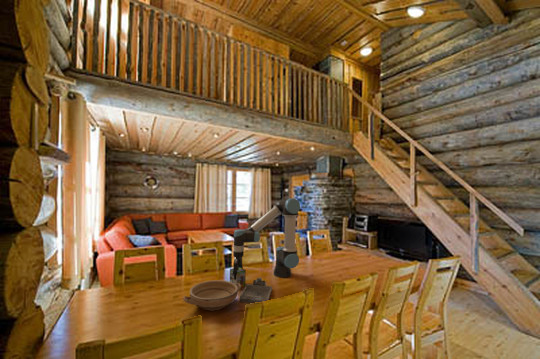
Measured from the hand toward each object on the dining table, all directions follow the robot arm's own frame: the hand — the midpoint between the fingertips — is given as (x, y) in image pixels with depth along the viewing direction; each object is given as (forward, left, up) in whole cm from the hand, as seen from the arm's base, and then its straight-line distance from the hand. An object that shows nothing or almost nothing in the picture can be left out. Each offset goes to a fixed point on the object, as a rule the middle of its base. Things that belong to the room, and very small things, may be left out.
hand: (237, 280), depth 180 cm
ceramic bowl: (+6, +33, -4) cm, 34 cm away
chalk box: (0, 0, -4) cm, 4 cm away
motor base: (-17, +14, -4) cm, 22 cm away
